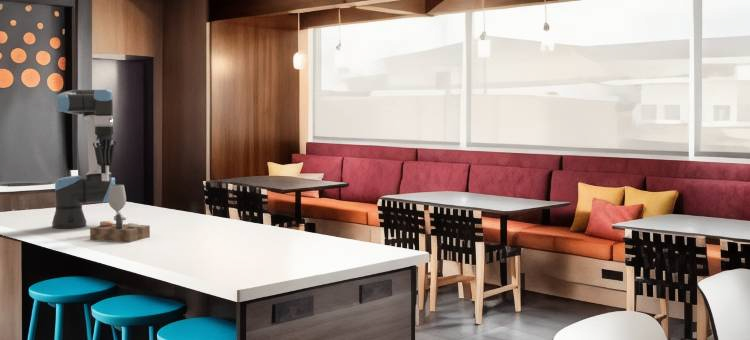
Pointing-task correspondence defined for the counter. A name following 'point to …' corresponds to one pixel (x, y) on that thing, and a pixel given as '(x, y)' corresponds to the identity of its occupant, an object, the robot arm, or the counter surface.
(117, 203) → the wineglass
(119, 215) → the gray rod
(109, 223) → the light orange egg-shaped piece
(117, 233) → the brown wooden holder block
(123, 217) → the knob mid
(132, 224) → the knob
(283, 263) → the counter surface
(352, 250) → the counter surface
